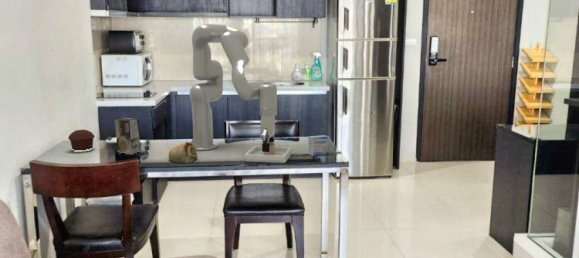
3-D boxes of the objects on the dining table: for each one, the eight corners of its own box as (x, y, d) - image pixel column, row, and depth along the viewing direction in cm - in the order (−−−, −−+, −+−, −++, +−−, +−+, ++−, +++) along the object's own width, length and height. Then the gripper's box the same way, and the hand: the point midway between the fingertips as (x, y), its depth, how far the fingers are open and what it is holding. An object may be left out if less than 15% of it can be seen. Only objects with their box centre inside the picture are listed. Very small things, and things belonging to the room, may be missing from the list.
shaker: (262, 156, 225) (262, 143, 224) (265, 153, 230) (264, 140, 229) (273, 156, 224) (273, 143, 223) (275, 154, 229) (275, 141, 228)
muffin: (94, 147, 249) (93, 127, 247) (96, 151, 239) (95, 131, 238) (68, 149, 244) (66, 129, 242) (69, 154, 234) (67, 133, 233)
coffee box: (141, 152, 239) (139, 118, 236) (131, 155, 233) (129, 120, 230) (126, 150, 242) (124, 117, 239) (116, 153, 237) (114, 119, 234)
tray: (244, 161, 220) (244, 154, 220) (254, 152, 238) (254, 146, 237) (284, 163, 217) (284, 156, 217) (292, 153, 235) (292, 147, 234)
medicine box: (313, 156, 230) (313, 137, 228) (308, 154, 234) (308, 136, 232) (327, 154, 233) (328, 136, 232) (322, 152, 237) (323, 134, 236)
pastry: (198, 162, 219) (198, 144, 217) (169, 164, 215) (168, 146, 214) (196, 155, 232) (195, 138, 231) (168, 157, 229) (167, 140, 227)
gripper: (264, 108, 233) (264, 145, 236) (255, 114, 216) (255, 153, 219) (280, 109, 232) (280, 145, 235) (272, 115, 215) (272, 154, 218)
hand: (268, 149), depth 227 cm, fingers open, 9 cm apart
